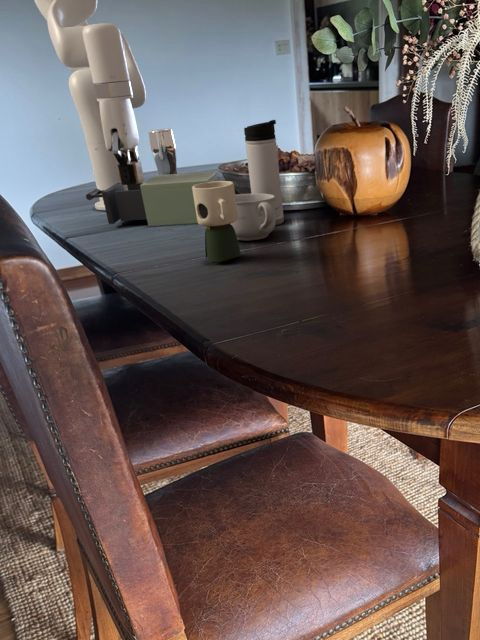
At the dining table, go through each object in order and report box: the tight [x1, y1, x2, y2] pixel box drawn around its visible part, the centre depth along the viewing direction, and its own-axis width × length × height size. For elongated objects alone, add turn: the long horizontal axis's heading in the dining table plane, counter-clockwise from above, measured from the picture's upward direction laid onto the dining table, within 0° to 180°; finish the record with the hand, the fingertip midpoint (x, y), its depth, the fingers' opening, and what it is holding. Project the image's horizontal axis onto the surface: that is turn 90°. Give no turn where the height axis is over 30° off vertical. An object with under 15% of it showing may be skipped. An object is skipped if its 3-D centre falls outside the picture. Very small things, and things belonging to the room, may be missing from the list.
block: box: [117, 160, 145, 185], centre depth 145 cm, size 4×4×4 cm
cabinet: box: [140, 170, 220, 227], centre depth 148 cm, size 15×13×9 cm
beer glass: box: [148, 128, 178, 175], centre depth 186 cm, size 7×7×15 cm
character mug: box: [192, 180, 242, 263], centre depth 113 cm, size 11×7×13 cm, turn 24°
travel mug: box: [243, 119, 285, 226], centre depth 134 cm, size 6×7×20 cm
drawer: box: [85, 182, 147, 225], centre depth 149 cm, size 18×12×7 cm, turn 87°
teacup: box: [231, 193, 276, 241], centre depth 126 cm, size 14×11×8 cm
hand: (132, 181), depth 146 cm, fingers closed on block, 4 cm apart
